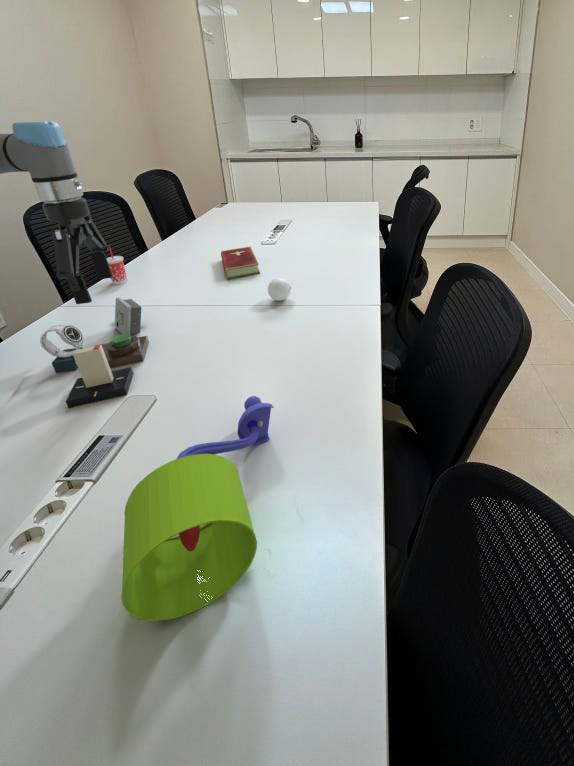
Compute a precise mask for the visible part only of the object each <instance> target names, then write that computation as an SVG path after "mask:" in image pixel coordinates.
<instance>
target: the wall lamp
mask: <svg viewBox="0 0 574 766" xmlns="http://www.w3.org/2000/svg"><path fill="white" fill-rule="evenodd" d="M243 405H244V406H243V407H244V410H245V411H244V412H243V413H242V414H241V416H240V418H239V420H238V423H237V436H238V438H239V439H234V440H233V439H232V440H224V441H213V442H204V443H199V444H195V445H192V446H189V447H187V448H186V449H183V450H182V451H181V452H179V454H178V455H177V457H176V458H175V459H173V460H171V461H168V462H166V463H165V464H163V465H161V466H159V467H157V468H155V469H154V470H153V471H151V472H150V473H149V474H146V476H145V477H143V479H141V480H140V481H139V482H138V483H137V484H136V486H135V487H134V488H133V490H132V491H131V492H130V494H129V496H128V498H127V500H126V503H125V506H124V513H123V514H124V525H123V526H124V527H123V528H124V529H123V532H124V533H123V552H122V553H123V554H122V555H123V556H122V582H121V585H122V586H121V595H120V599H121V602H122V606H123V607H124V609H125V611H126V612H127V613H128V614H129V615H130V616H131V617H133V618H136V619H138V620H141V621H146V622H155V621H157V622H158V621H168V620H169V621H170V620H173V619H177V618H178V619H179V618H181V617H183V616H186V615H189V614H191V613H194V612H196V611H198V610H200V609H204V607H206V606H208V605H210V604H211V603H213V602H214V601H216V600H217V599H219V598H221V597H222V596H224V595H225V594H227V592H228V591H229V590H231V589H232V588H233V587H234V586H235V585H236V584H237V583H238V582H239V581H240V580H241V579H242V577H243V576H245V574H246V573H247V572H248V570H249V568H250V566H251V565H252V563H253V561H254V558H255V556H256V553H257V548H258V547H257V546H258V540H257V536H256V533H255V531H254V530H255V529H254V527H253V523H252V519H251V515H250V511H249V507H248V503H247V500H246V496H245V492H244V489H243V484H242V480H241V477H240V472H239V470H238V468H237V467H236V465H235V464H234V463H233V462H232V461H231V460H229V459H227V458H226V457H224V456H221V455H219V454H225V453H229V452H234V451H239V450H243V449H245V448H247V447H249V446H256V445H260V444H264V443H266V442H268V441H270V436H269V426H270V418H271V411H272V409H274V408H275V407H274V405H273V404H272V403H269V402H262V400H261V398H260V397H258V396H256V395H252V396H248V397H247V399H246V400H245V401H244V404H243ZM197 570H198V571H199V570H200V571H201V572H200V571H199V572H198V571H197ZM202 571H203V572H202ZM197 574H198V575H199V577H200V576H201V577H202V576H203V577H202V578H203V579H202V578H201V577H200V578H201V580H202V581H203V580H204V579H205V580H206V581H207V582H206V581H205V580H204V581H205V582H204V581H203V582H202V581H201V580H200V579H199V578H198V579H199V580H200V582H201V583H200V582H199V581H198V580H197V577H198V575H197ZM209 577H210V578H209ZM208 578H209V579H208ZM197 581H198V582H199V583H200V584H199V583H198V582H197ZM200 590H201V591H200ZM207 591H208V592H207ZM200 593H201V594H202V595H201V594H200ZM204 593H205V594H204ZM203 594H204V595H205V596H204V595H203ZM199 595H200V596H201V597H202V598H201V597H200V596H199ZM206 595H207V596H206ZM208 595H209V596H210V597H209V596H208ZM211 596H212V597H213V598H212V597H211ZM207 597H208V598H209V599H210V600H209V599H208V598H207ZM204 598H205V599H206V600H207V601H208V602H207V601H206V600H205V599H204ZM211 598H212V599H211Z"/></svg>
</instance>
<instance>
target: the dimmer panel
mask: <svg viewBox="0 0 574 766" xmlns="http://www.w3.org/2000/svg"><path fill="white" fill-rule="evenodd" d="M111 372H112V375H113V377H114V379H113V381H112V382H111V383H106V384H102V385H97V386H93V387H88V388H86V386H85V383H84V381H83V378H82V376H81V377H78V378H76V380H75V382H74V384H73V386H72V388H71V390H70V392H69V394H68V396H67V397H66V400H65V403H66V406H67V408H68V409H73V408H76V407H81V406H85V405H90V404H94V403H98V402H103V401H107V400H112V399H115V398H120V397H124V396H128V393H129V390H130V386H131V383H132V380H133V377H134V371H133V368H132V366H130V367H125V368H120V369H116V370H111Z"/></svg>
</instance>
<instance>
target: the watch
mask: <svg viewBox="0 0 574 766" xmlns="http://www.w3.org/2000/svg"><path fill="white" fill-rule="evenodd" d="M51 332H55V334H56V335H58V336H59V338H60V339H61V340H62V341H63V343H65V344H67V345H70V346H71V347H73V348H66V349H63V350H61V348H59V347H58V346H56V345H55V344H54V343H53V342H52V341H51V340H49V338H48V337H47V335H48V333H51ZM83 338H84V337H83V332H82V331H81V330H80V329H79V328H78V327H76V326H74V325H71V324H69V325H67V324H56V325H52V326H50V327H48V328H47V329H46V330H45V331H44V332H43V333H42V334H41V336H40V337H39V341H40V345H41V347H42V348H43V350H44V351H46V352H47V353H48V354H50V355H51V356H53V357H55V358H54V359H53V361H52V362H51V366H52V367H53V369H54V372H55V374H62V373H69V372H76V371H77V370H79V369H78V366H77V364H76V361H75V359H74V356H73V353H74V351H75V350H78V349H84V347H83V344H84V339H83Z"/></svg>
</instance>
